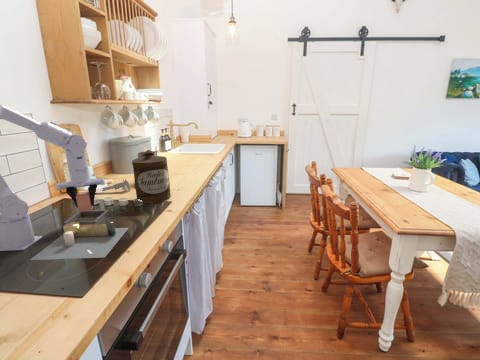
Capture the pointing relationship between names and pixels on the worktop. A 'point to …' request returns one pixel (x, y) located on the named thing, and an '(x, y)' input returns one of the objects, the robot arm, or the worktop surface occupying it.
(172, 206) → the worktop surface
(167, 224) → the worktop surface
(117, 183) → the caliper
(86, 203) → the block
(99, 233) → the crank
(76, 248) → the board
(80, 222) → the tray
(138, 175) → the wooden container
